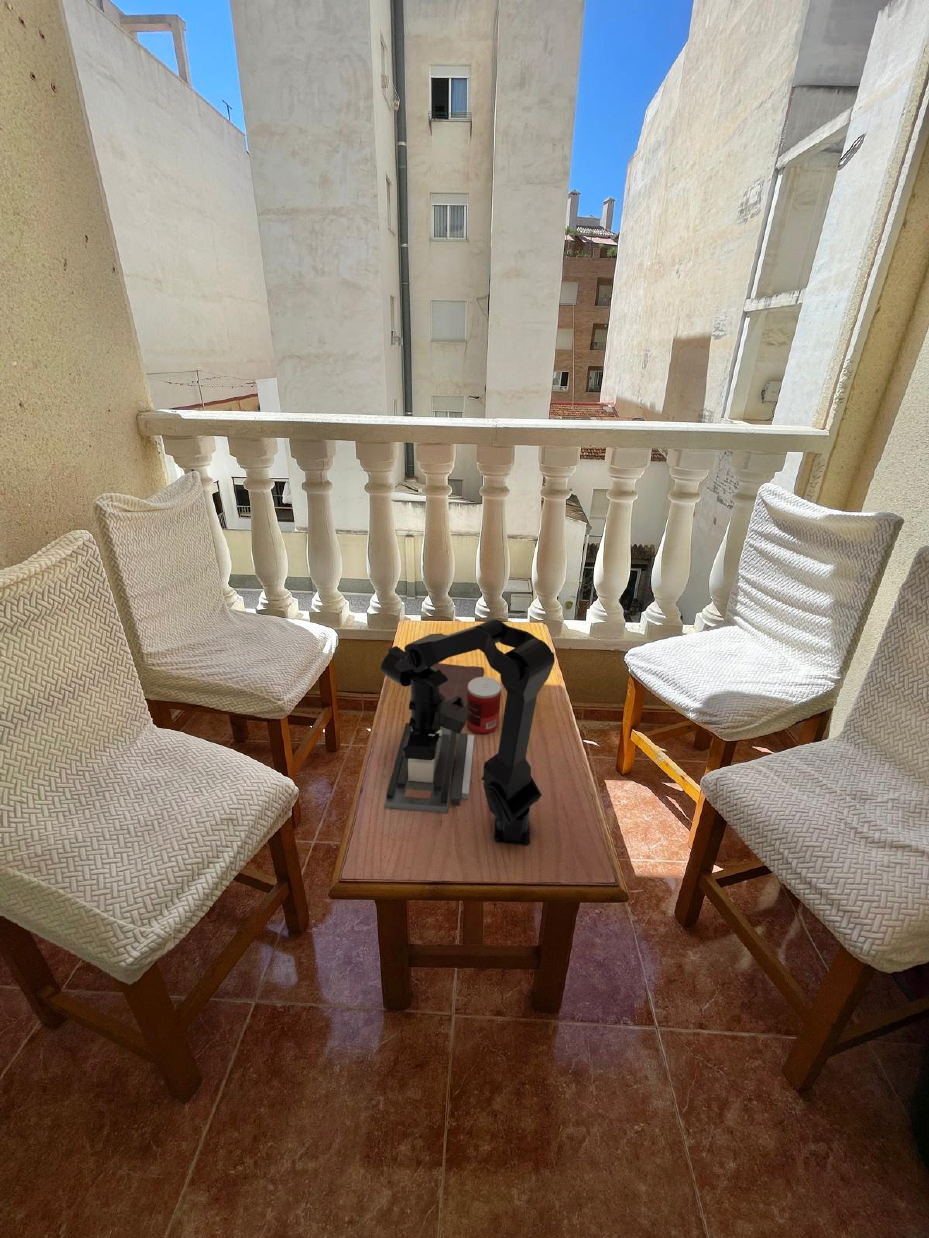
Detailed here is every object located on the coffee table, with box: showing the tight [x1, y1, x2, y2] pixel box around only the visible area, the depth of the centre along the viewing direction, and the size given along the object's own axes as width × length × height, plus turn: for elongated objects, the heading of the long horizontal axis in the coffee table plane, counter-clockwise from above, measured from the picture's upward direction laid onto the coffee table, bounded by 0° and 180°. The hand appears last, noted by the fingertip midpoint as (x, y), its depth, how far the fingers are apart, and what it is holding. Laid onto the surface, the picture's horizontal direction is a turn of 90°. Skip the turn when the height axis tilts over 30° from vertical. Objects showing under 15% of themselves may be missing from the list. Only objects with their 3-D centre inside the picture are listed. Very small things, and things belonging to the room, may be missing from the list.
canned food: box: [466, 676, 502, 735], centre depth 129 cm, size 8×8×11 cm
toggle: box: [408, 759, 435, 783], centre depth 112 cm, size 4×5×5 cm
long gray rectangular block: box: [449, 732, 475, 807], centre depth 117 cm, size 20×3×2 cm, turn 176°
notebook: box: [432, 662, 485, 707], centre depth 144 cm, size 15×20×2 cm
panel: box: [384, 722, 459, 814], centre depth 117 cm, size 24×12×3 cm, turn 176°
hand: (425, 756), depth 116 cm, fingers closed
